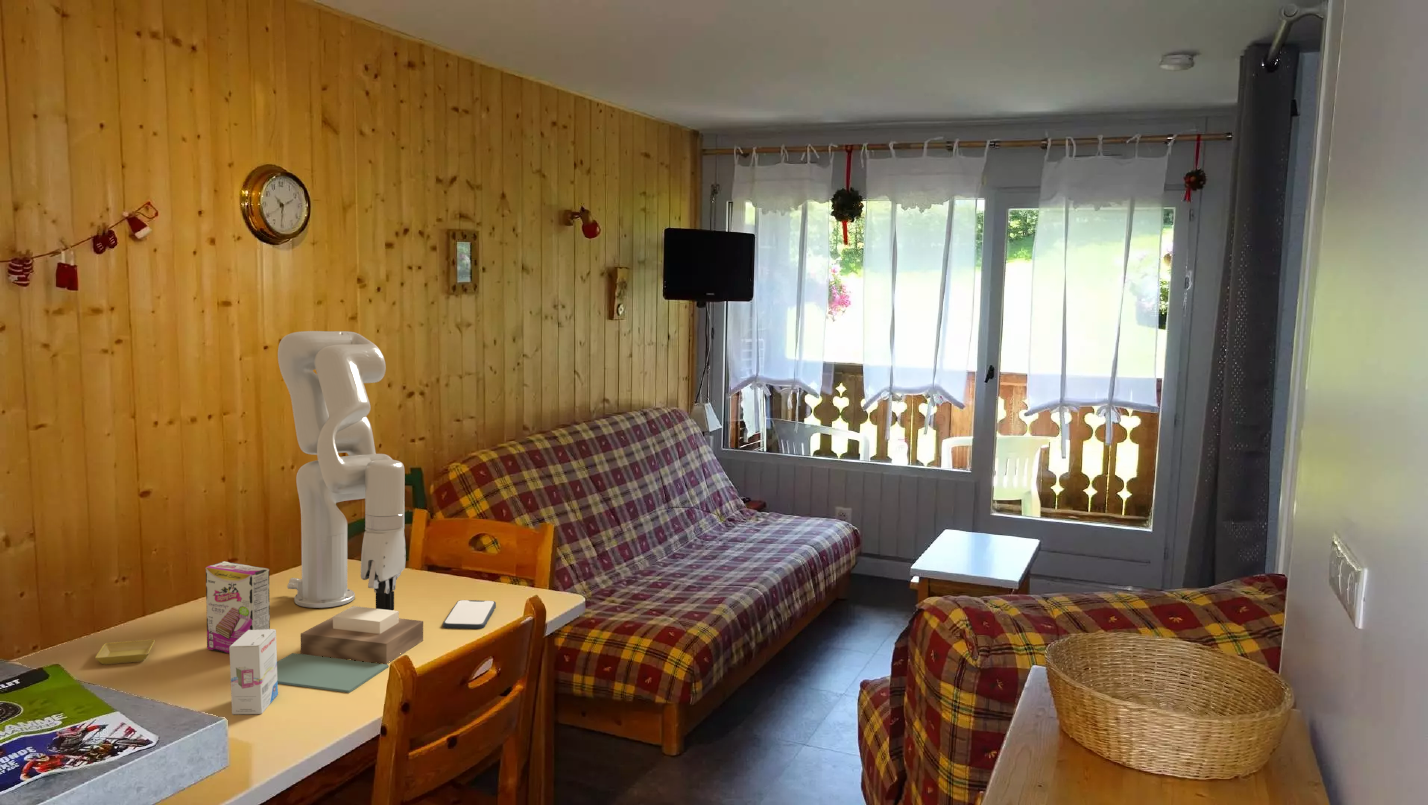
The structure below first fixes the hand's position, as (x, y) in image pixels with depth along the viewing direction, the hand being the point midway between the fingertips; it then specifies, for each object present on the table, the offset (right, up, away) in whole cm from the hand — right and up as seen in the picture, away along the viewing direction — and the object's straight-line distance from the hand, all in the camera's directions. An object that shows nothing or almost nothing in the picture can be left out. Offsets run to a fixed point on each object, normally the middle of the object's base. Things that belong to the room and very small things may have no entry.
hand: (384, 610), depth 208 cm
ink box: (-10, -9, -36) cm, 38 cm away
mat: (-5, -7, -21) cm, 23 cm away
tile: (-2, 0, -7) cm, 7 cm away
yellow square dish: (-43, -6, -17) cm, 46 cm away
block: (-2, -6, -7) cm, 9 cm away
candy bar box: (-24, -6, -11) cm, 27 cm away
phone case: (+14, -5, +14) cm, 20 cm away
